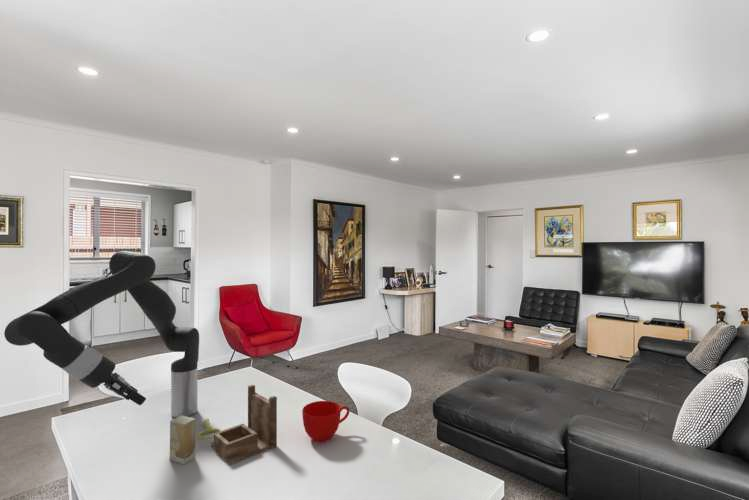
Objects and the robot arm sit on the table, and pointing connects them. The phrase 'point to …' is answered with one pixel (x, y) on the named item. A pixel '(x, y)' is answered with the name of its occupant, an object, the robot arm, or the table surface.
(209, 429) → the key
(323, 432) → the ceramic cup
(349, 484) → the table surface
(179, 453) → the skincare box
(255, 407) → the headboard stand
